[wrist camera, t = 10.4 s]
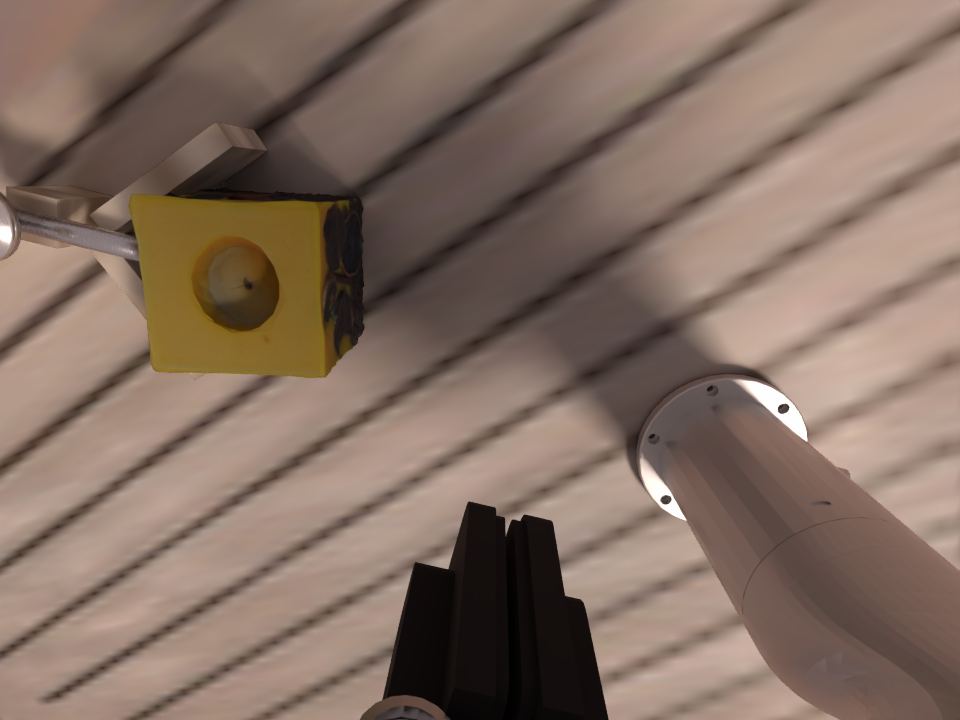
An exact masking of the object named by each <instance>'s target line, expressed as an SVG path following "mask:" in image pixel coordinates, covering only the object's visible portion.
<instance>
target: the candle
mask: <svg viewBox="0 0 960 720" xmlns="http://www.w3.org/2000/svg"><path fill="white" fill-rule="evenodd" d="M129 210H130V214H131V219H132V223H133V227H134V231H135V235H136V239H137V243H138V250H139V265H140V270H141V276H142V283H143V290H144V298H145V306H146V317H147V329H148V338H149V346H150V357H151V365H152V367H153V370H155V371H156V372H169V373H183V372H186V373H233V374H258V375H280V376H296V377H306V378H316V377H326V376H327V375H328V374H329V373H330V371H331V369H332V367H334V366H335V365H336V362H337V361H338V360H340V359H341V358H342V357H343V355H344V354H345V353H346V352H347V351H349V350H351V349H352V348H353V346H355V345H356V344H357V343H358V337H360V336H361V335H362V333H363V330H364V324H363V309H364V307H363V303H362V298H363V289H362V288H363V287H364V282H363V268H362V253H363V249H362V245H363V237H362V234H361V229H362V212H363V205H362V202H361V200H360V198H357V197H355V198H354V197H351V196H332V195H321V194H317V195H312V194H296V193H285V192H277V191H276V192H275V193H256V192H243V191H232V190H229V189H227V188H220V189H216V190H214V189H200V190H199V191H197V192H195V193H191V194H185V195H180V196H177V195H175V194H173V193H171V192H170V193H168V194H167V195H165V196H160V195H148V194H131V197H130V201H129Z"/></svg>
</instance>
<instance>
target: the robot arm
mask: <svg viewBox="0 0 960 720" xmlns="http://www.w3.org/2000/svg"><path fill="white" fill-rule="evenodd" d="M709 386H711V387H710V388H709V389H707V388H708V387H709ZM651 434H653V435H652V436H650V435H651ZM636 464H637V468H638V473H639V476H640V478H641V481H642V483H643V485H644V487H645V489H646V491H647V492H648V494H649V495H650V497H651V498H652V499H653V501H654V502H655V503H656V504H657V505H658V506H659V507H660V508H662V509H663V510H665V511H666V512H668V513H669V514H670V515H672V516H674V517H677V518H679V519H681V520H684V521H687V523H688V524H689V526H690V528H691V530H692V532H693V533H694V535H695V537H696V539H697V541H698V542H699V544H700V546H701V548H702V550H703V551H704V553H705V555H706V557H707V559H708V560H709V562H710V564H711V566H712V568H713V569H714V571H715V573H716V575H717V577H718V578H719V580H720V582H721V584H722V586H723V587H724V589H725V591H726V593H727V595H728V596H729V598H730V600H731V602H732V604H733V605H734V607H735V609H736V611H737V613H738V614H739V616H740V618H741V620H742V622H743V623H744V625H745V627H746V629H747V630H748V633H749V635H750V636H751V638H752V640H753V642H754V644H755V645H756V647H757V649H758V651H759V652H760V654H761V656H762V657H763V658H764V660H765V661H766V663H767V664H768V666H769V667H770V669H771V670H772V671H773V672H774V673H775V674H776V676H777V677H778V678H779V679H780V680H781V681H782V682H783V683H784V684H785V685H786V686H787V687H789V688H790V689H791V690H792V691H793V692H794V693H796V694H797V695H798V696H799V697H801V698H802V699H804V700H805V701H807V702H808V703H810V704H812V705H813V706H815V707H817V708H818V709H820V710H821V711H823V712H825V713H827V714H829V715H831V716H833V717H836V718H838V719H840V720H960V571H959V570H958V569H957V568H956V567H954V566H953V565H952V564H951V563H950V562H948V561H947V560H946V559H945V558H943V557H942V556H941V555H940V554H939V553H938V552H936V551H935V550H934V549H933V548H932V547H930V546H929V545H928V544H927V543H926V542H925V541H923V540H922V539H921V538H920V537H919V536H917V535H916V534H915V533H914V532H913V531H912V530H910V529H909V528H908V527H907V526H906V525H904V524H903V523H902V522H901V521H900V520H899V519H897V518H896V517H895V516H894V515H893V514H891V513H890V512H889V511H888V510H887V509H886V508H884V507H883V506H882V505H881V504H880V503H878V502H877V501H876V500H875V499H874V498H873V497H871V496H870V495H869V494H868V493H867V492H865V491H864V490H863V489H862V488H861V487H860V486H858V485H857V484H856V483H855V482H854V481H852V480H851V479H850V473H849V472H848V470H846V469H843V468H839V467H836V466H835V465H834V464H832V463H831V462H830V461H829V460H828V459H826V458H825V457H824V456H823V455H822V454H821V453H819V452H818V451H817V450H816V449H815V448H813V447H812V446H811V445H810V444H809V443H808V438H807V429H806V426H805V423H804V420H803V417H802V415H801V413H800V412H799V410H798V409H797V407H796V406H795V404H794V403H793V402H792V401H791V400H790V399H789V398H788V397H787V396H786V395H785V394H784V393H782V392H781V391H780V390H778V389H777V388H775V387H774V386H773V385H771V384H769V383H766V382H764V381H762V380H760V379H758V378H754V377H750V376H746V375H737V374H721V375H712V376H708V377H704V378H701V379H697V380H694V381H692V382H690V383H688V384H686V385H684V386H681V387H679V388H678V389H676V390H675V391H674V392H672V393H671V394H669V395H668V396H666V397H665V398H664V399H663V400H662V401H661V402H660V403H659V404H658V405H657V406H656V407H655V408H654V409H653V411H652V412H651V414H650V415H649V417H648V418H647V419H646V421H645V423H644V425H643V427H642V430H641V432H640V434H639V438H638V443H637V447H636ZM360 720H609V719H608V715H607V710H606V705H605V700H604V695H603V690H602V686H601V681H600V676H599V671H598V666H597V662H596V657H595V652H594V647H593V642H592V638H591V633H590V628H589V623H588V618H587V613H586V609H585V606H584V603H583V602H582V601H581V599H576V598H572V597H567V596H565V593H564V587H563V581H562V575H561V569H560V563H559V556H558V550H557V544H556V538H555V532H554V526H553V522H552V521H551V520H546V519H542V518H538V517H534V516H529V515H523V517H522V519H521V521H517V520H512V521H511V523H510V525H509V528H508V532H507V535H506V533H505V518H504V517H500V516H496V508H495V507H491V506H486V505H482V504H478V503H473V502H468V503H467V506H466V509H465V513H464V516H463V520H462V523H461V527H460V530H459V534H458V537H457V541H456V544H455V548H454V551H453V555H452V558H451V562H450V565H449V569H443V568H439V567H434V566H430V565H426V564H421V563H417V562H415V564H414V567H413V571H412V575H411V578H410V582H409V586H408V590H407V594H406V598H405V602H404V606H403V610H402V614H401V619H400V623H399V627H398V632H397V636H396V640H395V645H394V650H393V654H392V659H391V663H390V668H389V672H388V677H387V682H386V686H385V691H384V695H383V700H382V701H379V702H377V703H375V704H374V705H373V706H372V707H371V708H369V709H368V710H367V711H366V712H365V713H364V714H363V715H362V716H361V718H360Z"/></svg>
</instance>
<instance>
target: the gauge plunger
mask: <svg viewBox="0 0 960 720" xmlns="http://www.w3.org/2000/svg"><path fill="white" fill-rule="evenodd" d="M21 232H22V233H26V234H30V235H34V236H38V237H42V238H46V239H50V240H54V241H58V242H62V243H66V244H70V245H74V246H78V247H82V248H86V249H91V250H95V251H99V252H103V253H107V254H111V255H115V256H119V257H123V258H127V259H131V260H135V261H139V250H138V243H137V239H136V237H135V236H132V235H128V234H124V233H120V232H116V231H112V230H108V229H104V228H100V227H96V226H92V225H88V224H84V223H80V222H76V221H72V220H68V219H64V218H60V217H56V216H52V215H48V214H44V213H40V212H36V211H32V210H28V209H24V208H20V207H16V206H12V204H11V203H10V201H9V200H8V199H7V198H6V197H5V196H4V195H3V194H2V193H1V192H0V261H1V260H4V259H6V258H8V257H10V256H11V255H12V254H13V253H14V252H15V251H16V250H17V248H18V246H19V244H20V240H21Z"/></svg>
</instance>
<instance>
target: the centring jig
mask: <svg viewBox="0 0 960 720" xmlns="http://www.w3.org/2000/svg"><path fill="white" fill-rule="evenodd" d="M266 151H268V150H267V149H266V147H265V146H264V144H263V143H262V141H261V140H260V139H259V137H258V136H257V134H256V133H255V131H254V130H253V129H248V128H243V127H238V126H233V125H228V124H223V123H218V122H215V123H214V124H212V125H211V126H210V127H208V128H207V129H206V130H204V131H203V132H201V133H200V134H199V135H197V136H196V137H195V138H193V139H192V140H191V141H189V142H188V143H187V144H185V145H184V146H182V147H181V148H180V149H178V150H177V151H176V152H174V153H173V154H172V155H170V156H169V157H167V158H166V159H165V160H163V161H162V162H161V163H159V164H158V165H157V166H155V167H154V168H153V169H151V170H150V171H148V172H147V173H146V174H144V175H143V176H142V177H140V178H139V179H138V180H136V181H135V182H134V183H132V184H131V185H129V186H128V187H127V188H125V189H124V190H123V191H121V192H120V193H119V194H117V195H116V196H115V197H112V196H108V195H104V194H100V193H97V192H93V191H89V190H85V189H81V188H77V187H73V186H16V187H6V194H7V199H8V200H9V201H10V203H11V204H12V206H16V207H20V208H24V209H28V210H32V211H36V212H40V213H44V214H48V215H52V216H56V217H60V218H64V219H68V220H72V221H76V222H80V223H84V224H88V225H92V226H96V227H100V228H104V229H108V230H112V231H116V232H120V233H124V234H128V235H132V236H135V237H136V235H135V231H134V227H133V223H132V219H131V214H130V210H129V201H130V197H131V194H148V195H160V196H165V195H167V194H168V193H170V192H171V193H173V194H175V195H177V196H180V195H185V194H191V193H195V192H197V191H199V190H200V189H214V188H215V187H217V186H218V185H220V184H221V183H223V182H224V181H225V180H227V179H228V178H230V177H231V176H232V175H234V174H235V173H237V172H238V171H240V170H241V169H242V168H244V167H245V166H247V165H248V164H249V163H251V162H252V161H254V160H255V159H257V158H258V157H259V156H261V155H262V154H264V153H265V152H266ZM21 240H25V241H29V242H33V243H37V244H41V245H45V246H49V247H53V248H57V249H58V248H64V247H70V246H74V245H70V244H66V243H62V242H58V241H54V240H50V239H46V238H42V237H38V236H34V235H30V234H26V233H22V232H21ZM89 250H90V251H91V252H92V254H93V255H94V256H95V257H96V259H97V260H98V261H99V262H100V264H101V265H102V266H103V267H104V268H105V270H106V271H107V272H108V273H109V275H110V276H111V277H112V278H113V280H114V281H115V282H116V283H117V285H118V286H119V287H120V288H121V289H122V291H123V292H124V293H125V294H126V296H127V297H128V298H129V299H130V301H131V302H132V303H133V304H134V306H135V307H136V308H137V309H138V310H139V312H140V313H141V314H142V315H143V317H144V318H145V319H146V320H147V317H146V306H145V298H144V290H143V283H142V276H141V270H140V265H139V261H135V260H131V259H127V258H123V257H119V256H115V255H111V254H107V253H103V252H99V251H95V250H91V249H89ZM204 374H206V373H190V375H191V376H192V377H193V378H194V380H196V379H198V378H199V377H201V376H202V375H204Z"/></svg>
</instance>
